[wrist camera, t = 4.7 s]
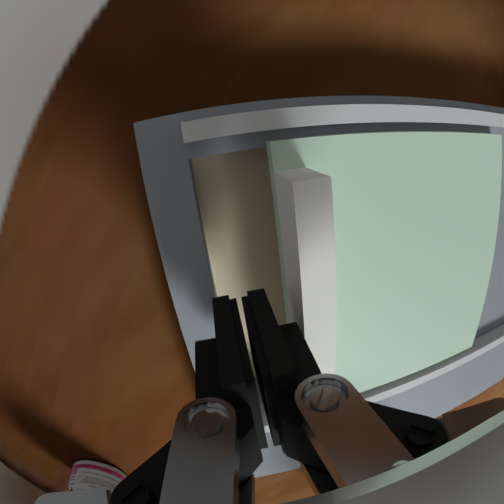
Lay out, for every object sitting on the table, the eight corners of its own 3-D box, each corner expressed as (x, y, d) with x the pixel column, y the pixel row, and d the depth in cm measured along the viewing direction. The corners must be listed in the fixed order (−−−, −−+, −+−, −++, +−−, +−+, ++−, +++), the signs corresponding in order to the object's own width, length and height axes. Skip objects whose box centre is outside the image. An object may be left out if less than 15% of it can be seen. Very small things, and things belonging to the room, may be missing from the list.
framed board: (525, 115, 13) (563, 121, 10) (487, 362, 21) (508, 384, 18) (145, 124, 11) (126, 122, 8) (232, 452, 18) (238, 491, 15)
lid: (492, 133, 10) (535, 140, 8) (465, 341, 15) (492, 366, 12) (265, 141, 9) (287, 144, 7) (293, 402, 14) (308, 443, 11)
